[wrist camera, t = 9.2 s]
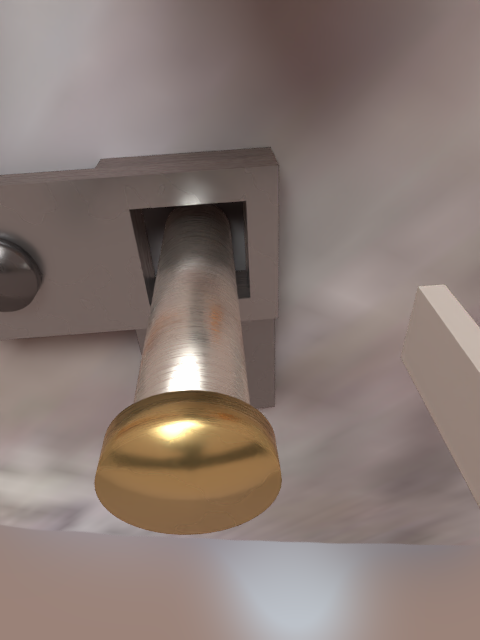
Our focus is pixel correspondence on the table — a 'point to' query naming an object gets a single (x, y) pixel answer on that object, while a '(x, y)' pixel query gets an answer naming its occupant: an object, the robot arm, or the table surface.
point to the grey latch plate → (254, 332)
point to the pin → (191, 398)
